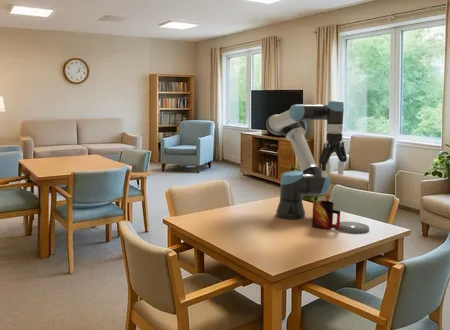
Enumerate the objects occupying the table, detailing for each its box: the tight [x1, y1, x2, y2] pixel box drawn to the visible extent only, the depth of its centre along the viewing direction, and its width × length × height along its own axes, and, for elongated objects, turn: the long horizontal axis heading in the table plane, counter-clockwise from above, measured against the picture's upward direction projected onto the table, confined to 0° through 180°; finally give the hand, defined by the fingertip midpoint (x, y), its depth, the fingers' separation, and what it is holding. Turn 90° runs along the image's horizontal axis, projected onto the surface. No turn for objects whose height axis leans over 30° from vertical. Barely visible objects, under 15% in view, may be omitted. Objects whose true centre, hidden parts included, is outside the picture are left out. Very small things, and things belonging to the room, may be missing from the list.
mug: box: [311, 200, 341, 231], centre depth 218 cm, size 10×14×12 cm
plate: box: [334, 221, 370, 235], centre depth 217 cm, size 16×16×1 cm
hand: (332, 175), depth 223 cm, fingers open, 13 cm apart
